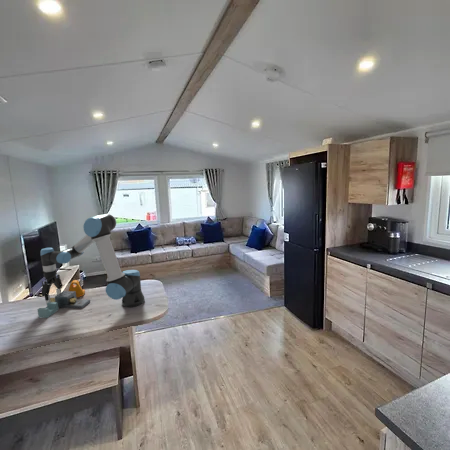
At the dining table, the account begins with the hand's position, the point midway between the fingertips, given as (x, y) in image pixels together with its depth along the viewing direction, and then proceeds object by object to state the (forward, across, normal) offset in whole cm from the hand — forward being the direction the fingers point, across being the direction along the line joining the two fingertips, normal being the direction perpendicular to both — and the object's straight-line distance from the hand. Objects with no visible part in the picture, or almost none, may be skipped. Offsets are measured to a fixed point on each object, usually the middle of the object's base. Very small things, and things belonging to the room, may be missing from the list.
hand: (54, 300), depth 188 cm
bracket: (+3, -14, +6) cm, 16 cm away
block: (+3, 0, +14) cm, 14 cm away
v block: (+3, +12, +6) cm, 14 cm away
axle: (+1, 0, +7) cm, 7 cm away
